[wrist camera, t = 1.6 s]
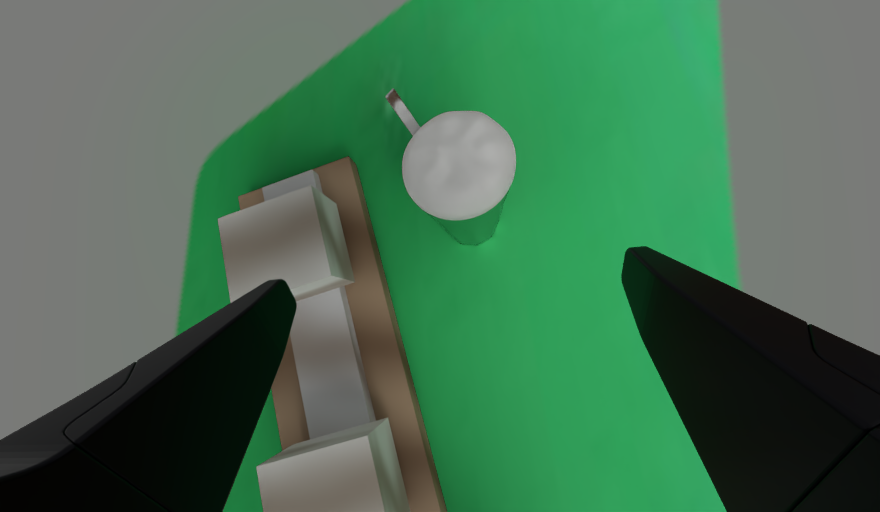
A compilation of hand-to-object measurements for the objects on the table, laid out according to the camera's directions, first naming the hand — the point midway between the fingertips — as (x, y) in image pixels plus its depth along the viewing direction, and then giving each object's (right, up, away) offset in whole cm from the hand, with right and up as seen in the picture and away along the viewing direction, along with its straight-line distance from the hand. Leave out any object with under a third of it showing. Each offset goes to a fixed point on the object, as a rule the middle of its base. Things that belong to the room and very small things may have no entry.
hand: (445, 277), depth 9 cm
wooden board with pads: (-6, -6, +12) cm, 15 cm away
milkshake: (+2, +3, +13) cm, 13 cm away
